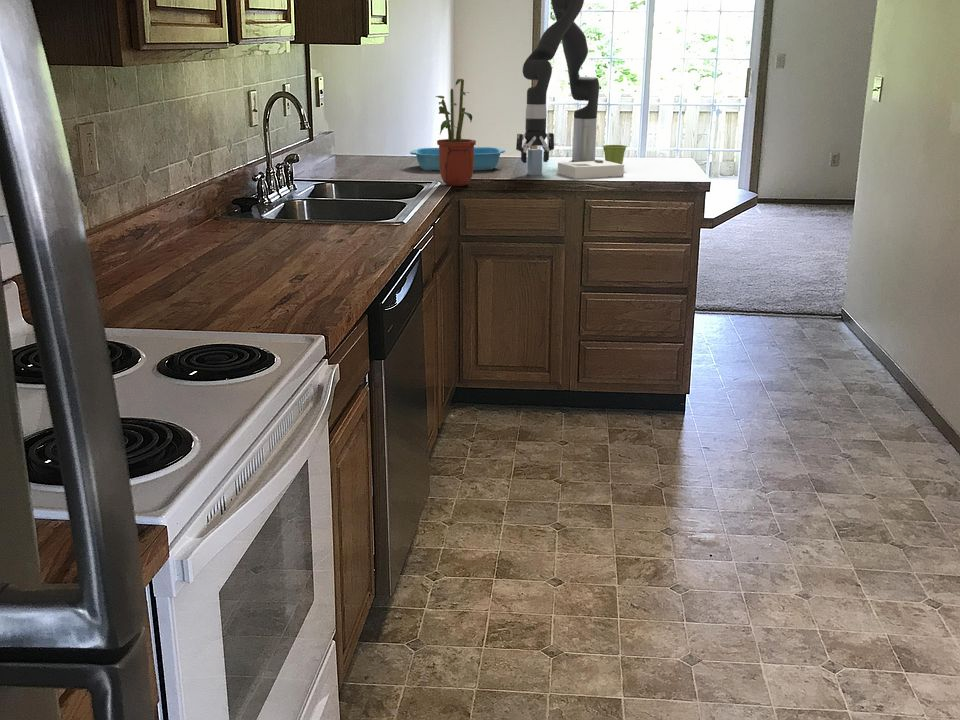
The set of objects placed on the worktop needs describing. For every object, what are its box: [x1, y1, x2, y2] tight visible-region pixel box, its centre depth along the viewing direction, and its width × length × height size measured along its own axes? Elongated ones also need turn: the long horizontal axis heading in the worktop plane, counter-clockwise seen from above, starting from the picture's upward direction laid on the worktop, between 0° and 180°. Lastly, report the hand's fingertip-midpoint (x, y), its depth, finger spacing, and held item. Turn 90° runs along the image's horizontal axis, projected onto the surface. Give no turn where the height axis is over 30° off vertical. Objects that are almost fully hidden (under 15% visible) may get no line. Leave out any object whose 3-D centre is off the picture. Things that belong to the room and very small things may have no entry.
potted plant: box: [434, 78, 477, 187], centre depth 325 cm, size 17×16×35 cm
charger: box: [527, 148, 543, 176], centre depth 356 cm, size 4×4×9 cm
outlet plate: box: [557, 159, 625, 179], centre depth 356 cm, size 14×20×5 cm
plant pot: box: [601, 144, 628, 165], centre depth 373 cm, size 9×9×9 cm
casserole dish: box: [409, 146, 506, 172], centre depth 374 cm, size 37×22×7 cm, turn 95°
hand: (534, 162), depth 355 cm, fingers open, 8 cm apart
